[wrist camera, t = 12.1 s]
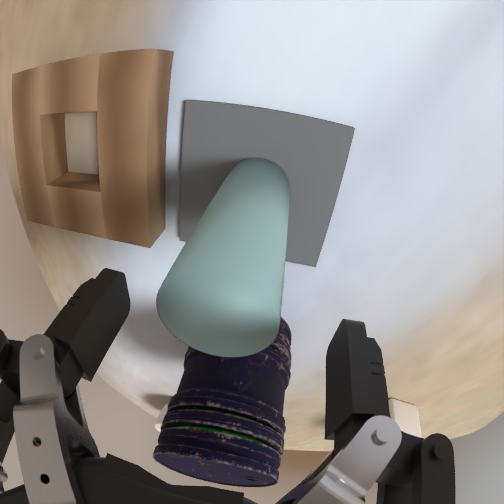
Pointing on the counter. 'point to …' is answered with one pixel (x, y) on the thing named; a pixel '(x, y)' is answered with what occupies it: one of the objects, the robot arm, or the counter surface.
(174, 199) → the counter surface
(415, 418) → the medicine bottle
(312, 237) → the mat
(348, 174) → the counter surface
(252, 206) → the peg
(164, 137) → the pocket block
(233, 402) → the storage jar
